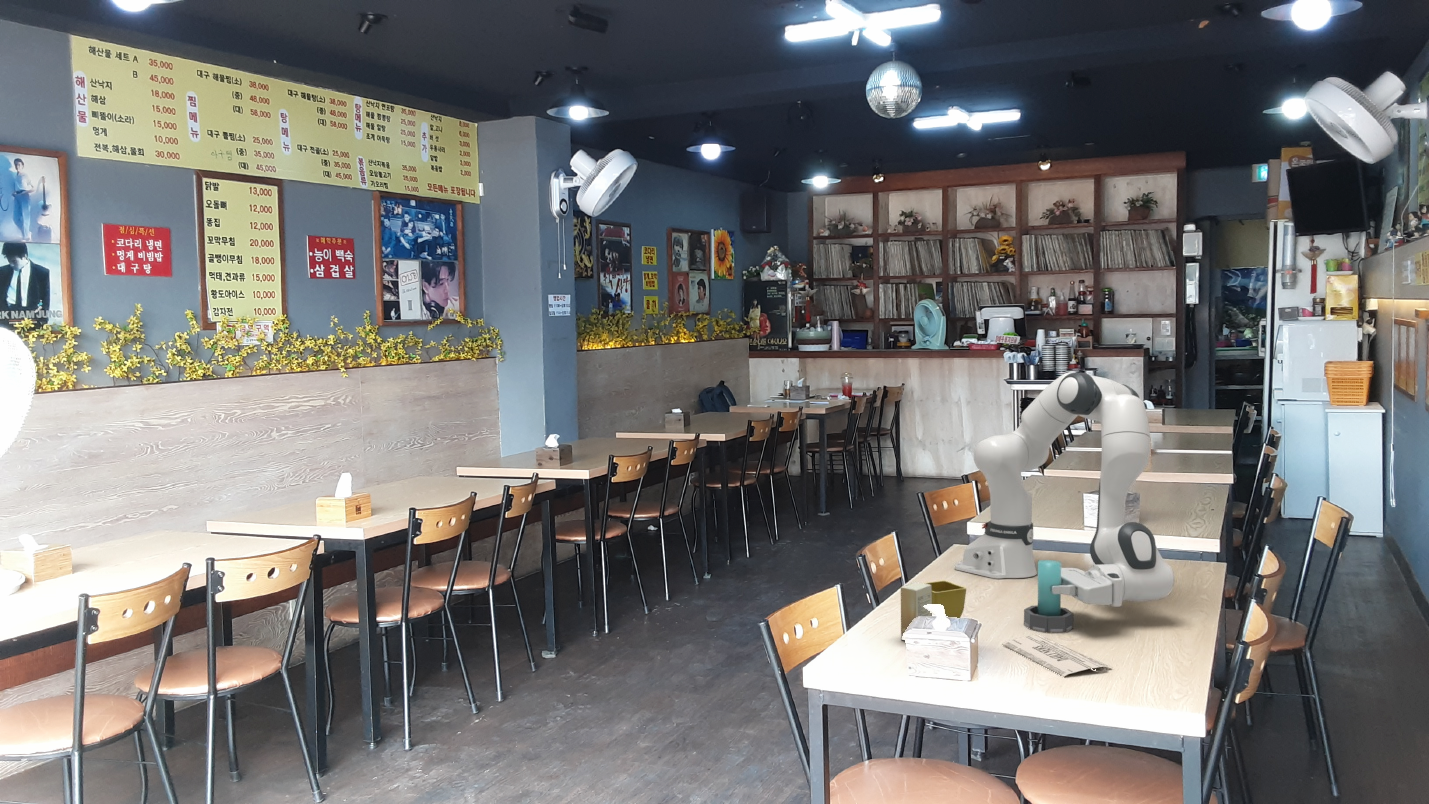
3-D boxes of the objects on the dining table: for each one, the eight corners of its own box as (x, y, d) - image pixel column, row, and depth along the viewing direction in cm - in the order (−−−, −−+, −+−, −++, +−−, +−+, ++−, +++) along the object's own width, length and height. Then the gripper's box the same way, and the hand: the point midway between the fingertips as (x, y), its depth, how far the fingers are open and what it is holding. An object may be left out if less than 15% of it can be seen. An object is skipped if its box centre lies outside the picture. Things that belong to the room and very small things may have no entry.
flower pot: (913, 621, 245) (913, 583, 244) (944, 616, 248) (944, 579, 248) (935, 631, 237) (935, 592, 236) (967, 626, 240) (967, 588, 240)
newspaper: (1116, 673, 209) (1115, 662, 208) (1064, 687, 205) (1063, 674, 205) (1048, 640, 230) (1047, 629, 230) (1000, 651, 227) (999, 640, 227)
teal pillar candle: (1033, 614, 239) (1034, 562, 238) (1043, 609, 243) (1043, 558, 242) (1054, 618, 236) (1055, 565, 235) (1064, 613, 239) (1064, 561, 239)
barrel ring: (1016, 627, 239) (1017, 612, 239) (1036, 617, 247) (1036, 602, 247) (1060, 635, 232) (1060, 620, 232) (1079, 625, 240) (1079, 610, 240)
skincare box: (916, 634, 235) (916, 581, 234) (932, 638, 232) (932, 584, 231) (899, 640, 230) (899, 586, 229) (915, 644, 227) (916, 589, 226)
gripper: (1082, 560, 250) (1027, 562, 249) (1125, 580, 230) (1065, 583, 228) (1082, 586, 251) (1027, 588, 249) (1124, 608, 230) (1064, 611, 229)
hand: (1045, 586), depth 239 cm, fingers closed on teal pillar candle, 5 cm apart
